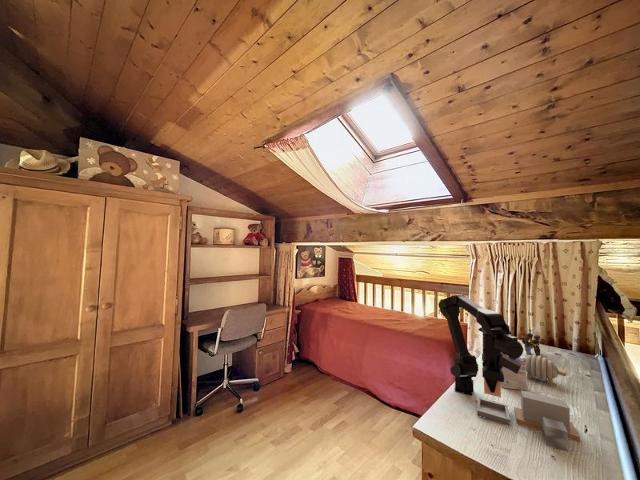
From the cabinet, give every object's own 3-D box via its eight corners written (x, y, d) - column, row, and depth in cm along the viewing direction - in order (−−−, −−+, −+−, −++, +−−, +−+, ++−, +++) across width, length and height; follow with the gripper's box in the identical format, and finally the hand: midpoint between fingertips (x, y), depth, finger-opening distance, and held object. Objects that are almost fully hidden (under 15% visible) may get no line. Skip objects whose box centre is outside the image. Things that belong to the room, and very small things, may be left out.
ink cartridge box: (520, 384, 116) (520, 351, 116) (527, 390, 110) (527, 356, 110) (496, 381, 117) (495, 349, 118) (502, 388, 112) (501, 354, 112)
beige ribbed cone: (519, 370, 128) (519, 348, 128) (566, 382, 117) (565, 358, 117) (516, 378, 120) (516, 354, 121) (566, 392, 109) (566, 366, 109)
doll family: (545, 367, 131) (544, 341, 132) (522, 363, 137) (522, 337, 137) (540, 352, 150) (539, 329, 150) (520, 349, 155) (520, 327, 156)
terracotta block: (484, 393, 95) (484, 376, 95) (484, 387, 99) (484, 371, 99) (500, 397, 92) (500, 380, 92) (499, 390, 96) (499, 374, 96)
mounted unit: (516, 423, 90) (516, 397, 90) (514, 410, 96) (513, 386, 97) (580, 441, 81) (579, 413, 81) (572, 426, 88) (571, 400, 88)
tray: (477, 415, 94) (477, 410, 94) (477, 402, 102) (477, 397, 102) (509, 425, 88) (509, 419, 89) (507, 410, 97) (507, 405, 97)
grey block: (546, 445, 80) (545, 425, 80) (542, 435, 84) (542, 416, 84) (567, 452, 77) (567, 431, 77) (563, 441, 82) (562, 422, 82)
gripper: (522, 361, 84) (523, 409, 83) (515, 343, 99) (516, 383, 99) (482, 353, 89) (482, 398, 89) (481, 337, 105) (482, 375, 105)
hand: (492, 388), depth 95 cm, fingers closed on terracotta block, 5 cm apart
